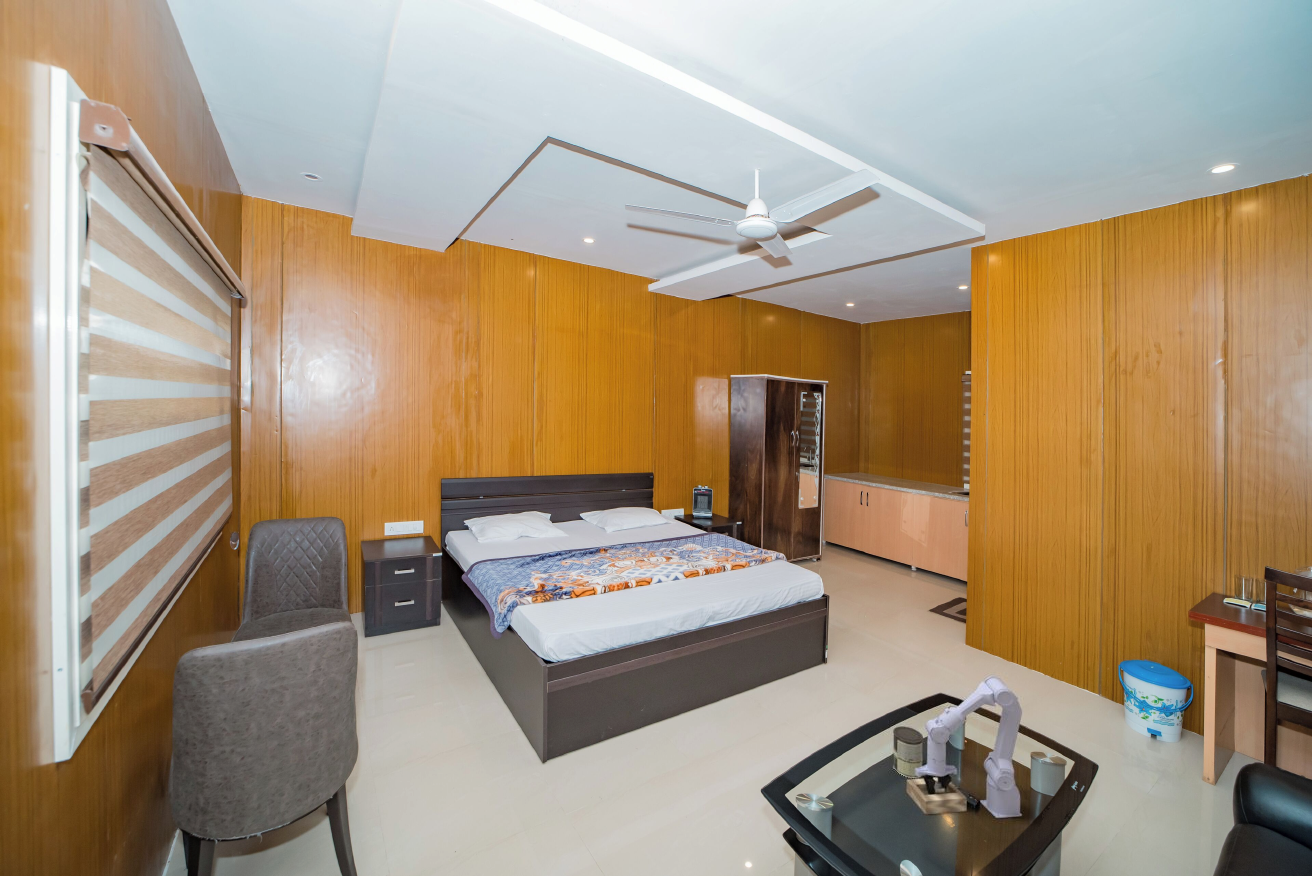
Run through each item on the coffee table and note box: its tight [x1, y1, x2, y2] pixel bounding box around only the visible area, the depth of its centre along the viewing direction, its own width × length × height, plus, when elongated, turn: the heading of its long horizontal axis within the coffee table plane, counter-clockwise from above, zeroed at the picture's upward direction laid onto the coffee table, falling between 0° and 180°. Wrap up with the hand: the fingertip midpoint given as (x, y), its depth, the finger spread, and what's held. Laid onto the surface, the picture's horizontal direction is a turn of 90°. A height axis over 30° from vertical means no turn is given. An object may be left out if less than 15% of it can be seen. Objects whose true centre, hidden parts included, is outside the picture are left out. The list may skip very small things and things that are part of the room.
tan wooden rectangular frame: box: [906, 777, 968, 815], centre depth 185 cm, size 15×11×4 cm
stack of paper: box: [928, 781, 945, 795], centre depth 185 cm, size 3×4×7 cm
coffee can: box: [892, 726, 924, 779], centre depth 202 cm, size 10×10×14 cm
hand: (935, 794), depth 185 cm, fingers closed on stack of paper, 3 cm apart
